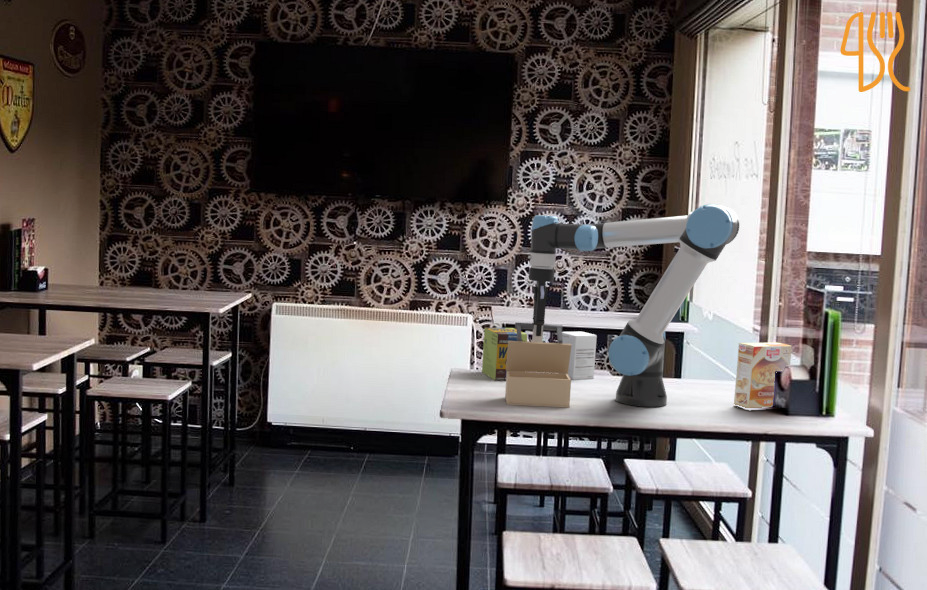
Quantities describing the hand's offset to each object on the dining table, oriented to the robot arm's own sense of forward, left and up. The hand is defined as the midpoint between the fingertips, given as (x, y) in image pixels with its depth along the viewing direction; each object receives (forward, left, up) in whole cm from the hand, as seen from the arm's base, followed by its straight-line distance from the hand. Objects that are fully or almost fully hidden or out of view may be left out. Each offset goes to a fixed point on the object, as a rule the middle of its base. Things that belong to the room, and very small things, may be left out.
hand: (536, 346), depth 293 cm
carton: (0, +8, -15) cm, 17 cm away
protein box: (+8, -32, -16) cm, 36 cm away
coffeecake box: (-68, 0, -16) cm, 70 cm away
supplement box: (-17, -38, -16) cm, 45 cm away
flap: (0, +6, -2) cm, 6 cm away
